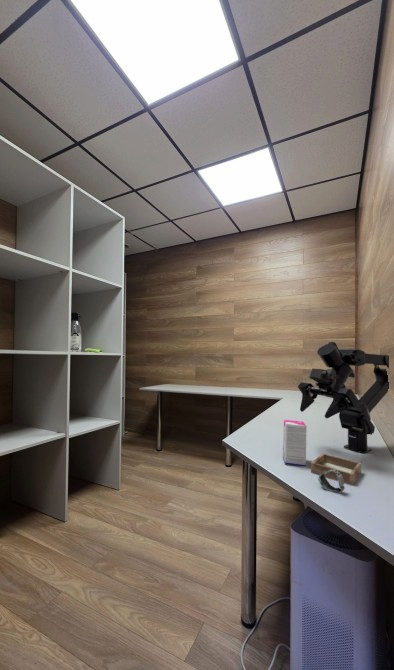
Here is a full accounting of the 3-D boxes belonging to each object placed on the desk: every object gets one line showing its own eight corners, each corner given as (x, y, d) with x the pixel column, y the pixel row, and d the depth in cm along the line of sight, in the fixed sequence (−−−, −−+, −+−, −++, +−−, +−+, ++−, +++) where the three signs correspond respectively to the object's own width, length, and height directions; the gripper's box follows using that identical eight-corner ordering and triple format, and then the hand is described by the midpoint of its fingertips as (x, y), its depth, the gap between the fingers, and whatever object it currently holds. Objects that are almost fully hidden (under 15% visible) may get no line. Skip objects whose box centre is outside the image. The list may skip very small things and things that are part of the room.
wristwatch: (334, 494, 64) (319, 473, 66) (351, 485, 61) (334, 464, 63) (328, 499, 62) (313, 478, 64) (345, 491, 59) (329, 469, 61)
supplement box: (306, 467, 75) (306, 425, 76) (284, 464, 76) (285, 423, 77) (302, 459, 81) (303, 420, 82) (282, 457, 82) (282, 419, 83)
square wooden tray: (322, 462, 79) (322, 453, 79) (361, 472, 72) (360, 463, 73) (311, 472, 72) (311, 462, 72) (352, 485, 65) (352, 474, 65)
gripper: (301, 359, 95) (277, 391, 89) (352, 361, 78) (326, 401, 72) (317, 381, 98) (294, 414, 92) (369, 387, 81) (345, 428, 75)
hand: (312, 414), depth 83 cm, fingers open, 9 cm apart
